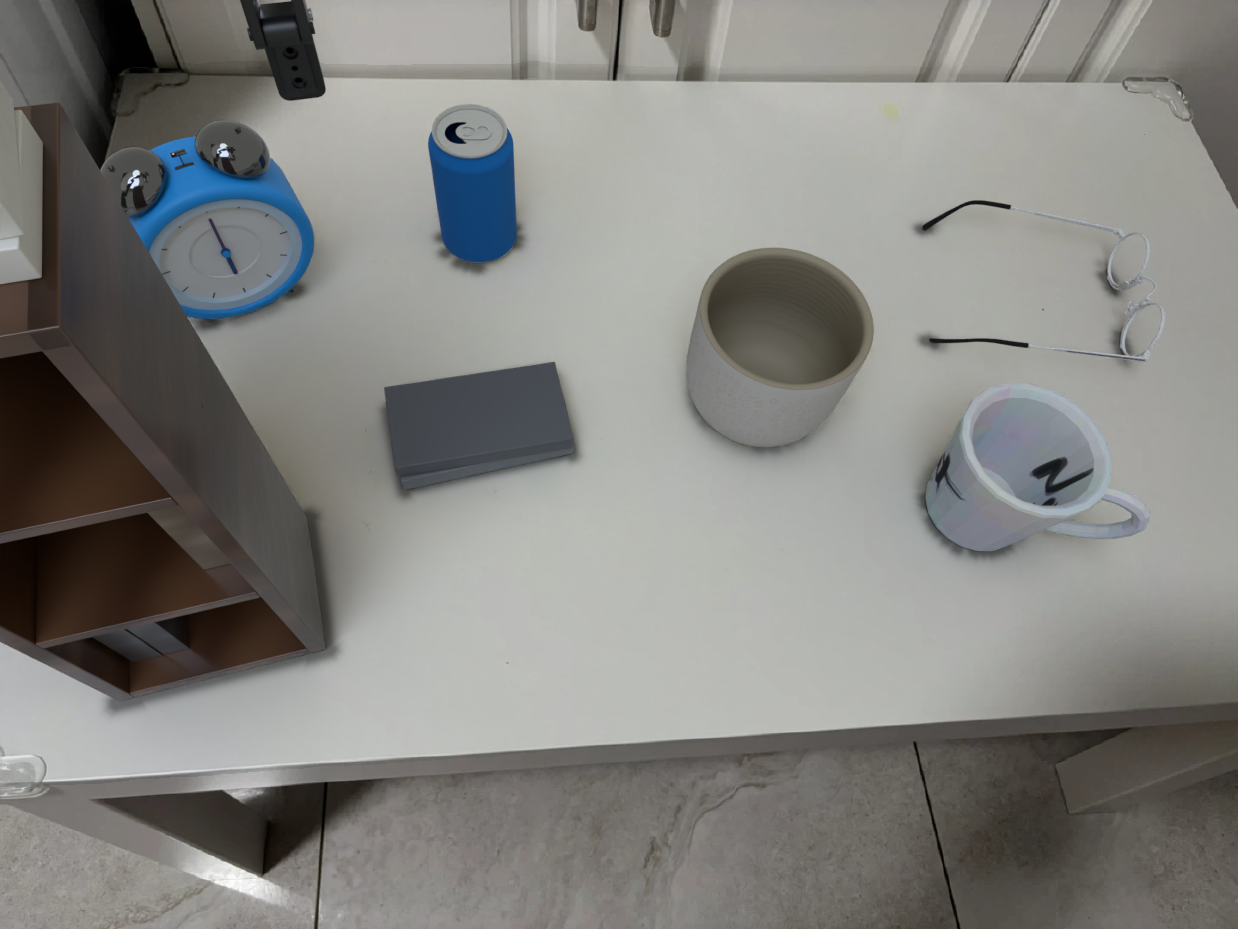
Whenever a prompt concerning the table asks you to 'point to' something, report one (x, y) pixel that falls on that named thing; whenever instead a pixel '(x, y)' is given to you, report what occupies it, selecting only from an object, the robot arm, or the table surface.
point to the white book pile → (19, 195)
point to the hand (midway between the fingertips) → (293, 38)
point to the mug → (1025, 472)
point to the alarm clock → (215, 218)
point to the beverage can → (474, 182)
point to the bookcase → (132, 467)
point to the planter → (775, 345)
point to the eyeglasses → (1123, 286)
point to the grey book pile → (476, 423)
